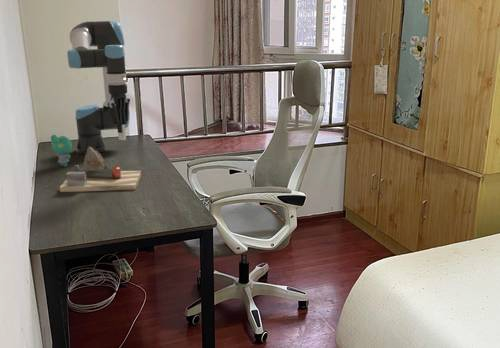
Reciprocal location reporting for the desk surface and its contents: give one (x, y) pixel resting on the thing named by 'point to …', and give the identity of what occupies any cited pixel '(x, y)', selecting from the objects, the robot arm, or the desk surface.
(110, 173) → the lever
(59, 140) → the toy
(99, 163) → the rock
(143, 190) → the desk surface
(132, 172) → the board
